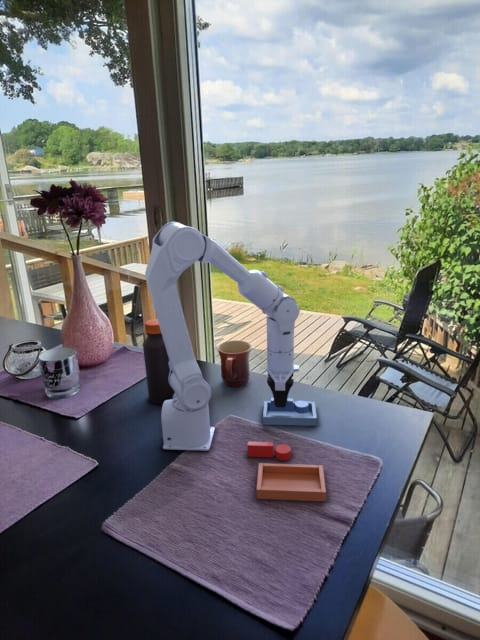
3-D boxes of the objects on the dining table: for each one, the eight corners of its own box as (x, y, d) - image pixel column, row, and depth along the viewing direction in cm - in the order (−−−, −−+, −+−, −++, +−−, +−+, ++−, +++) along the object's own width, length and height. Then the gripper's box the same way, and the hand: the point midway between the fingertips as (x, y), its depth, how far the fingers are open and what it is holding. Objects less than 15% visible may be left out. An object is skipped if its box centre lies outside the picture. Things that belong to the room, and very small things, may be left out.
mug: (223, 374, 120) (221, 339, 117) (255, 376, 118) (254, 341, 115) (212, 396, 109) (209, 358, 106) (246, 398, 107) (245, 360, 104)
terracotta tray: (256, 498, 75) (256, 489, 74) (258, 471, 81) (258, 462, 81) (325, 501, 74) (326, 492, 73) (322, 473, 80) (322, 465, 80)
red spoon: (247, 459, 85) (246, 447, 84) (248, 449, 88) (248, 438, 87) (290, 460, 84) (290, 449, 83) (290, 451, 87) (290, 439, 86)
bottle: (143, 402, 107) (134, 325, 101) (158, 389, 113) (151, 315, 106) (167, 407, 105) (159, 328, 98) (181, 393, 111) (175, 318, 104)
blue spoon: (270, 413, 97) (270, 402, 97) (270, 406, 100) (270, 396, 99) (308, 413, 97) (308, 403, 96) (308, 406, 99) (308, 396, 99)
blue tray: (262, 424, 96) (262, 417, 96) (264, 407, 103) (264, 400, 102) (316, 425, 95) (316, 418, 94) (314, 408, 102) (314, 401, 101)
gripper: (300, 362, 86) (299, 422, 91) (298, 335, 100) (297, 388, 105) (264, 362, 87) (265, 421, 92) (267, 335, 101) (268, 388, 105)
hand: (280, 404), depth 98 cm, fingers closed on blue spoon
